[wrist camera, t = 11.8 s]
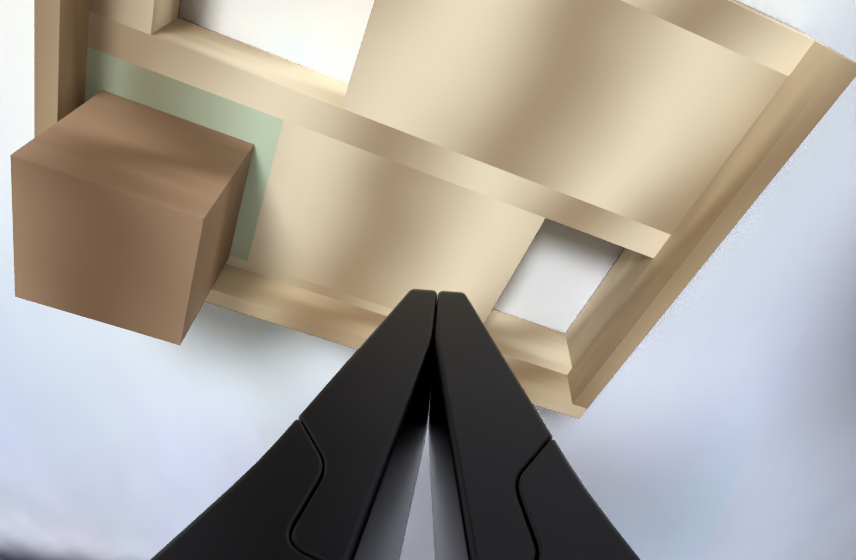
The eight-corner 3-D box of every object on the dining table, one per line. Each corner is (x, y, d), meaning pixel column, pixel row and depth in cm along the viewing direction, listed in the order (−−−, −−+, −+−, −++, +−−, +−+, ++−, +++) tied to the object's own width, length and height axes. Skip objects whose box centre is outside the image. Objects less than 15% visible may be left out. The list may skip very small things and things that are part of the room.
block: (254, 144, 19) (203, 219, 15) (228, 257, 21) (179, 345, 18) (102, 89, 18) (11, 154, 14) (95, 214, 20) (15, 296, 17)
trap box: (800, 30, 18) (862, 67, 15) (566, 354, 26) (578, 418, 23) (118, -292, 14) (34, -323, 12) (89, 195, 22) (34, 248, 20)
